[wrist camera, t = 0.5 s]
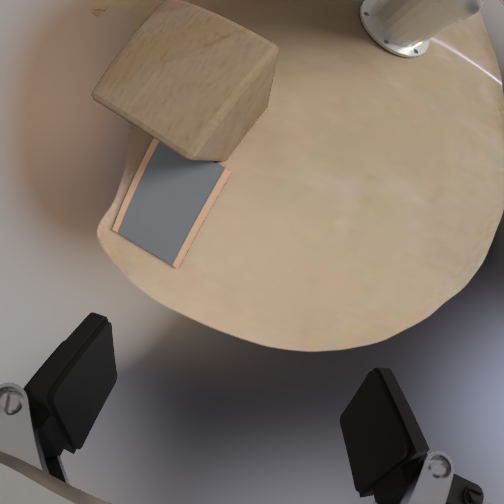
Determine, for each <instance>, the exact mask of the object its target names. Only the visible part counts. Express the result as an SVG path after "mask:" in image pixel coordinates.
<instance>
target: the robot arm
mask: <svg viewBox="0 0 504 504" xmlns="http://www.w3.org/2000/svg"><path fill="white" fill-rule="evenodd" d="M483 1H484V0H365V1H364V2H363V3H362V5H361V7H360V18H361V21H362V24H363V26H364V28H365V29H366V31H367V32H368V33H369V35H370V36H371V37H372V38H373V39H374V40H375V41H376V42H377V43H378V44H379V45H381V46H382V47H383V48H385V49H386V50H388V51H390V52H391V53H394V54H396V55H398V56H402V57H407V58H414V57H418V56H420V55H422V54H424V53H425V52H426V51H427V49H428V46H429V39H430V38H431V37H433V36H435V35H437V34H438V33H440V32H442V31H444V30H445V29H447V28H449V27H451V26H453V25H455V24H456V23H458V22H460V21H462V20H464V19H466V18H468V17H470V16H472V15H474V14H476V13H477V12H478V11H479V10H480V9H481V7H482V5H483ZM500 1H501V3H502V4H503V5H504V0H500ZM116 379H117V371H116V364H115V356H114V347H113V337H112V325H111V323H110V322H108V319H107V317H105V316H102V315H99V314H96V313H90V314H89V315H88V316H87V317H86V318H85V319H84V320H83V322H82V323H81V324H80V325H79V326H78V327H77V328H76V329H75V330H74V331H73V333H72V334H71V335H70V336H69V337H68V338H67V339H66V340H65V341H63V342H62V343H61V344H60V345H59V346H58V348H57V349H56V350H55V351H54V352H53V353H52V354H51V356H50V357H49V358H48V359H47V360H46V361H45V363H44V364H43V365H42V366H41V367H40V369H39V370H38V371H37V372H36V373H35V375H34V376H33V377H32V378H31V380H30V381H29V382H28V384H27V385H26V386H25V388H24V389H23V388H21V387H20V386H19V385H17V384H14V383H4V384H1V385H0V504H111V503H109V502H106V501H104V500H101V499H99V498H96V497H94V496H92V495H90V494H87V493H85V492H83V491H81V490H79V489H77V488H74V487H72V486H71V485H70V483H69V481H68V478H67V475H66V472H65V470H64V467H63V464H62V461H61V457H60V455H61V453H62V451H63V449H66V450H67V451H69V452H71V453H73V454H74V453H75V451H76V449H80V448H82V446H83V444H84V442H85V440H86V438H87V436H88V434H89V431H90V430H91V428H92V426H93V424H94V422H95V420H96V418H97V416H98V414H99V412H100V411H101V409H102V407H103V405H104V403H105V401H106V399H107V397H108V395H109V394H110V392H111V390H112V388H113V386H114V384H115V383H116ZM340 424H341V429H342V433H343V437H344V441H345V445H346V449H347V453H348V458H349V462H350V467H351V471H352V476H353V480H354V485H355V489H356V490H357V491H358V492H359V494H360V497H366V496H371V495H374V497H375V500H374V502H373V504H490V503H489V502H488V501H487V500H486V499H485V500H484V501H483V497H484V496H483V492H482V489H481V488H480V487H479V486H478V485H477V484H475V483H473V482H470V481H468V480H466V479H464V478H462V477H460V476H458V475H456V474H454V465H453V462H452V460H451V458H450V457H449V456H448V455H446V454H444V453H442V452H433V453H430V454H429V455H427V452H428V451H429V447H428V445H427V443H426V440H425V438H424V436H423V434H422V432H421V429H420V427H419V425H418V423H417V421H416V419H415V417H414V415H413V413H412V410H411V408H410V407H409V404H408V402H407V400H406V398H405V396H404V394H403V392H402V390H401V388H400V386H399V385H398V382H397V381H396V379H395V377H394V375H393V373H392V371H391V370H390V369H389V368H375V369H374V370H373V371H371V372H369V373H368V375H367V377H366V378H365V380H364V382H363V383H362V385H361V386H360V388H359V389H358V391H357V393H356V394H355V396H354V397H353V399H352V400H351V402H350V403H349V404H348V406H347V407H346V409H345V411H344V412H343V413H342V415H341V418H340Z"/></svg>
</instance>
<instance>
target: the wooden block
mask: <svg viewBox="0 0 504 504" xmlns="http://www.w3.org/2000/svg"><path fill="white" fill-rule="evenodd" d="M278 53H279V48H278V47H277V46H276V45H275V44H273V43H272V42H270V41H268V40H267V39H265V38H263V37H261V36H260V35H258V34H256V33H254V32H252V31H250V30H249V29H247V28H245V27H243V26H241V25H239V24H237V23H235V22H233V21H231V20H229V19H227V18H224V17H222V16H220V15H218V14H216V13H213V12H211V11H209V10H206V9H204V8H201V7H199V6H197V5H194V4H191V3H189V2H186V1H183V0H165V1H164V2H163V3H162V4H161V5H160V6H159V7H158V8H157V9H156V10H155V11H154V12H153V13H152V14H151V15H150V16H149V17H148V19H147V20H146V21H145V22H144V23H143V24H142V25H141V26H140V28H139V29H138V30H137V31H136V32H135V33H134V35H133V36H132V37H131V38H130V40H129V41H128V42H127V43H126V45H125V46H124V47H123V48H122V50H121V51H120V52H119V54H118V55H117V56H116V58H115V59H114V60H113V62H112V63H111V65H110V66H109V67H108V69H107V70H106V72H105V73H104V75H103V76H102V78H101V79H100V81H99V82H98V84H97V85H96V87H95V89H94V90H93V92H92V97H93V99H94V100H95V101H97V102H98V103H100V104H102V105H103V106H105V107H106V108H108V109H110V110H111V111H113V112H114V113H116V114H118V115H119V116H121V117H122V118H124V119H126V120H127V121H129V122H130V123H132V124H133V125H135V126H136V127H138V128H140V129H141V130H143V131H144V132H146V133H147V134H149V135H150V136H152V137H153V138H155V139H156V140H158V141H159V142H161V143H163V144H164V145H166V146H167V147H169V148H170V149H172V150H173V151H174V152H176V153H177V154H179V155H180V156H182V157H183V158H185V159H189V160H207V161H226V160H227V159H228V157H229V156H230V155H231V153H232V152H233V151H234V149H235V148H236V147H237V145H238V144H239V143H240V141H241V140H242V139H243V137H244V136H245V135H246V133H247V132H248V131H249V130H250V128H251V127H252V126H253V124H254V123H255V122H256V121H257V119H258V118H259V117H260V116H261V114H262V113H263V112H264V111H265V109H266V108H267V106H268V102H269V97H270V92H271V87H272V82H273V77H274V72H275V67H276V62H277V58H278Z"/></svg>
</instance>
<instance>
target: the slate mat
mask: <svg viewBox="0 0 504 504" xmlns="http://www.w3.org/2000/svg"><path fill="white" fill-rule="evenodd" d="M231 173H232V172H231V171H230V170H228V169H226V168H224V167H223V166H221V165H219V164H217V163H215V162H214V161H207V160H189V159H185V158H183V157H182V156H180V155H179V154H177V153H176V152H174V151H173V150H172V149H170V148H169V147H167V146H166V145H164V144H163V143H161V142H159V141H158V140H156V139H155V138H153V140H152V142H151V144H150V146H149V148H148V150H147V152H146V154H145V156H144V158H143V160H142V162H141V164H140V166H139V168H138V170H137V172H136V174H135V176H134V178H133V181H132V183H131V185H130V187H129V190H128V192H127V194H126V196H125V199H124V201H123V203H122V206H121V208H120V211H119V213H118V216H117V218H116V221H115V223H114V226H113V229H112V230H113V231H115V232H116V233H119V234H120V235H122V236H123V237H125V238H127V239H128V240H130V241H131V242H133V243H135V244H136V245H138V246H140V247H141V248H143V249H145V250H146V251H148V252H150V253H151V254H153V255H155V256H156V257H158V258H160V259H161V260H163V261H165V262H167V263H168V264H170V265H172V266H173V267H175V268H176V269H178V268H179V267H180V265H181V263H182V261H183V259H184V257H185V255H186V253H187V251H188V250H189V248H190V246H191V244H192V242H193V240H194V238H195V237H196V235H197V233H198V231H199V229H200V227H201V226H202V224H203V222H204V220H205V218H206V217H207V215H208V213H209V211H210V209H211V208H212V206H213V204H214V202H215V201H216V199H217V197H218V195H219V194H220V192H221V190H222V188H223V187H224V185H225V183H226V182H227V180H228V178H229V177H230V175H231Z"/></svg>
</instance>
